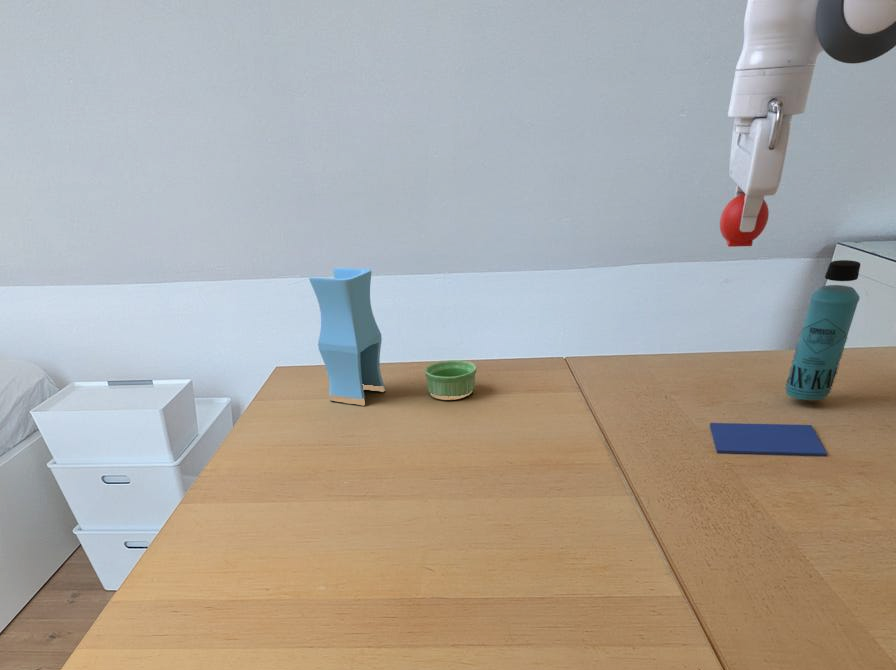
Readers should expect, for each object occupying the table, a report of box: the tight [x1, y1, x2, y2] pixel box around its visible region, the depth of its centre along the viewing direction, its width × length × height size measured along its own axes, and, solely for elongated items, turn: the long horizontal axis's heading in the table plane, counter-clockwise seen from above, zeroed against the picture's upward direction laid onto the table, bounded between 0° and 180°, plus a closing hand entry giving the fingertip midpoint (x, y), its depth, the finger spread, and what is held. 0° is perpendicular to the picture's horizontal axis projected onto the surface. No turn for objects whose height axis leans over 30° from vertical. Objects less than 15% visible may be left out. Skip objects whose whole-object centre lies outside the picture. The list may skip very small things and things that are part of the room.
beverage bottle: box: [784, 259, 861, 401], centre depth 104 cm, size 6×7×20 cm
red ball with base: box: [719, 194, 770, 248], centre depth 94 cm, size 6×6×7 cm
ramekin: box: [424, 359, 477, 397], centre depth 122 cm, size 9×9×4 cm
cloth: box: [709, 422, 828, 457], centre depth 100 cm, size 14×10×1 cm
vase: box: [308, 267, 385, 399], centre depth 119 cm, size 8×8×20 cm
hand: (742, 226), depth 95 cm, fingers closed on red ball with base, 6 cm apart
